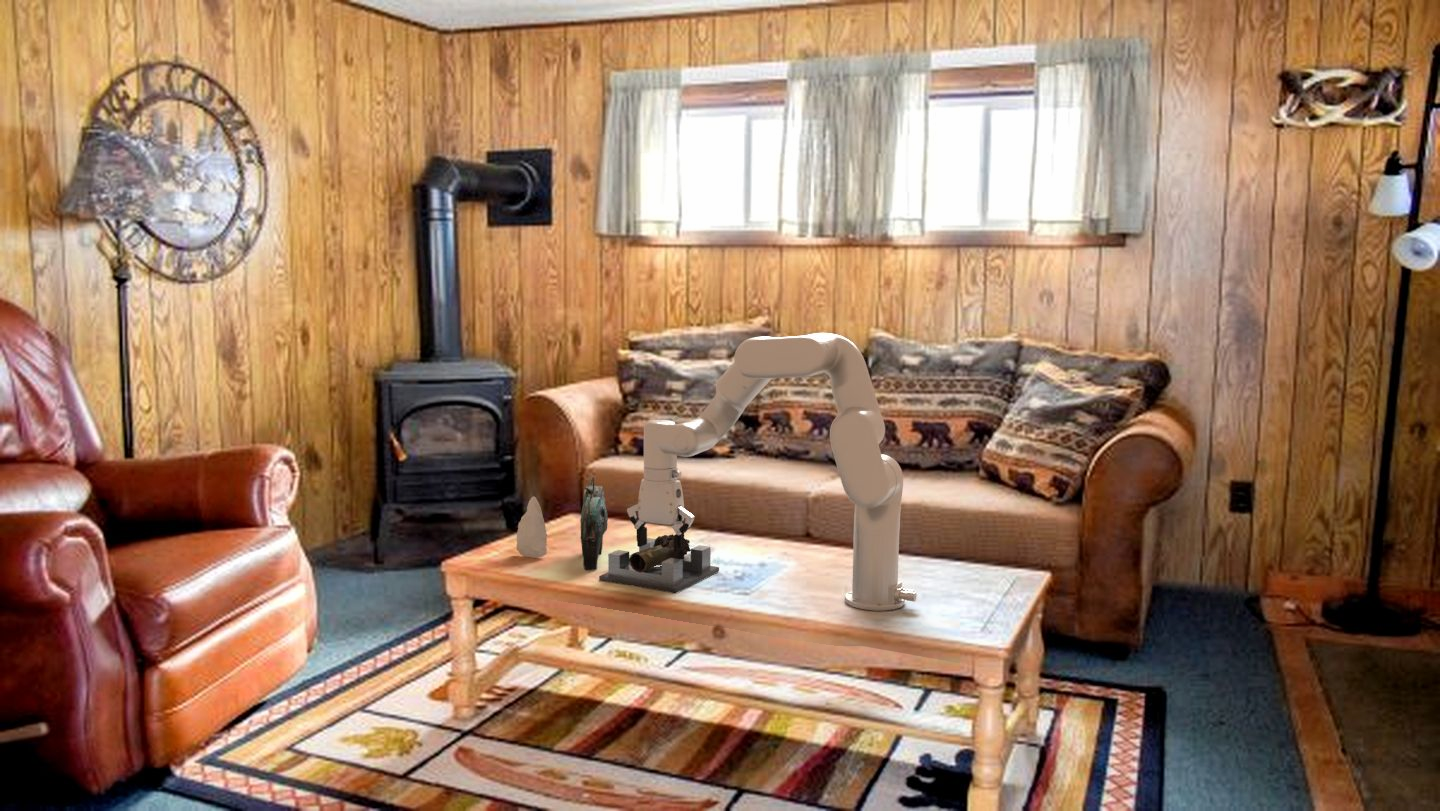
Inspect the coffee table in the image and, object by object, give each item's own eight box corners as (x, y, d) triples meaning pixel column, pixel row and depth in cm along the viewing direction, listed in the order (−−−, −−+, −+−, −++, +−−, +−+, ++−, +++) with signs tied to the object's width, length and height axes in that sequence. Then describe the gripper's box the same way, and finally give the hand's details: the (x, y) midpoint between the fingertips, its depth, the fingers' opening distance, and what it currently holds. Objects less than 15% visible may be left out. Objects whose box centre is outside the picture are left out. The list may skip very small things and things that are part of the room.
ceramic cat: (584, 549, 273) (583, 471, 270) (610, 549, 273) (609, 471, 270) (576, 571, 253) (576, 486, 250) (604, 571, 253) (604, 486, 251)
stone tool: (550, 556, 265) (549, 496, 264) (543, 559, 263) (543, 498, 261) (519, 553, 268) (518, 493, 266) (512, 556, 265) (512, 495, 264)
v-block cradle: (719, 571, 254) (719, 546, 253) (675, 593, 236) (675, 566, 235) (646, 560, 263) (646, 535, 262) (599, 580, 245) (599, 554, 245)
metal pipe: (645, 574, 240) (645, 549, 239) (622, 569, 244) (622, 545, 243) (694, 557, 254) (694, 533, 254) (671, 553, 258) (671, 529, 257)
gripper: (701, 475, 246) (701, 549, 248) (636, 468, 254) (636, 540, 256) (685, 480, 239) (684, 556, 241) (619, 473, 247) (619, 547, 249)
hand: (660, 548), depth 249 cm, fingers open, 9 cm apart
